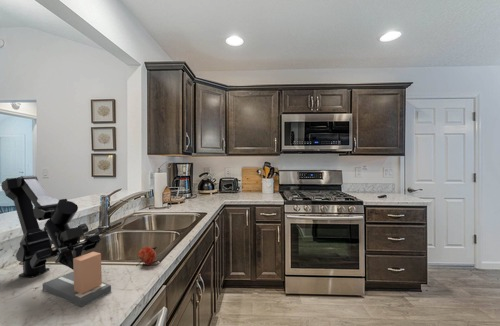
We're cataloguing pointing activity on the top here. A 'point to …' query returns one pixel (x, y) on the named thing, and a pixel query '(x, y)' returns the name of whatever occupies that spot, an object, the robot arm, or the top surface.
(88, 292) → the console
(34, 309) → the top surface
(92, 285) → the fader knob
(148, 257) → the pomegranate
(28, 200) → the robot arm
